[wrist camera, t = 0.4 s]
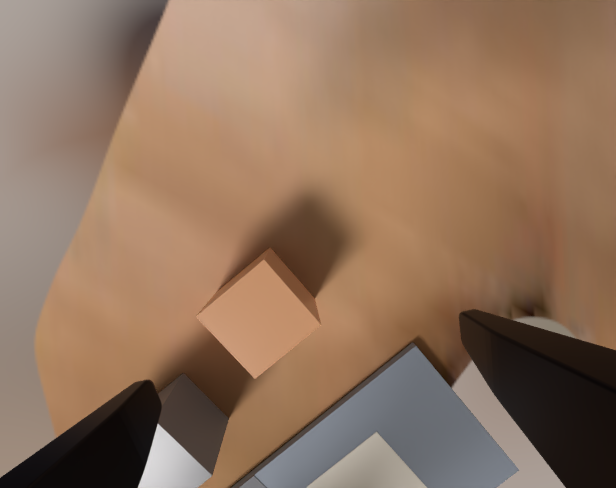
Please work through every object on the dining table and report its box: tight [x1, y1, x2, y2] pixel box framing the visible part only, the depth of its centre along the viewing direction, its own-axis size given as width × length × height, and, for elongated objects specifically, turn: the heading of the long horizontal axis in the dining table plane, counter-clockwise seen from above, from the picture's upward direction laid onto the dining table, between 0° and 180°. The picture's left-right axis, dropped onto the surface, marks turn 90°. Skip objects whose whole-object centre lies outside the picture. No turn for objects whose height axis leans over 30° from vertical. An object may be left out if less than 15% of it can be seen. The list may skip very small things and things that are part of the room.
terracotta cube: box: [196, 248, 321, 379], centre depth 20 cm, size 5×5×5 cm
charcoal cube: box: [138, 373, 229, 488], centre depth 21 cm, size 5×5×5 cm
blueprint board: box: [231, 342, 519, 488], centre depth 24 cm, size 20×14×1 cm
